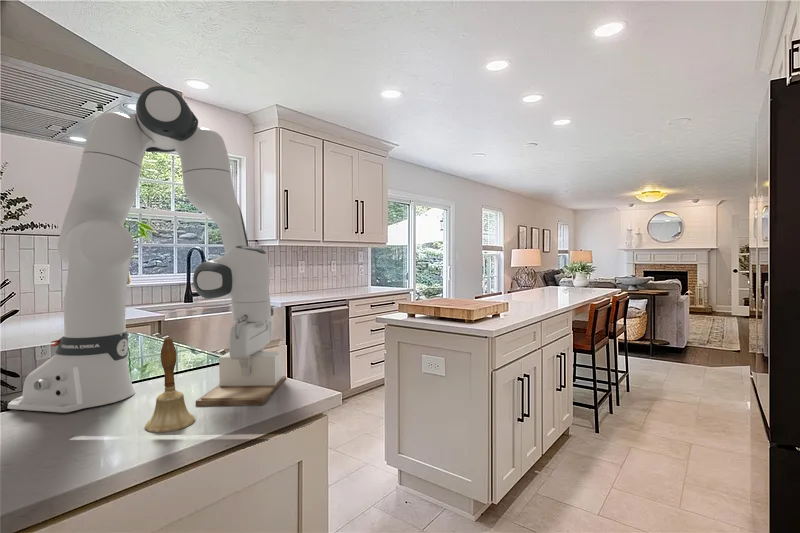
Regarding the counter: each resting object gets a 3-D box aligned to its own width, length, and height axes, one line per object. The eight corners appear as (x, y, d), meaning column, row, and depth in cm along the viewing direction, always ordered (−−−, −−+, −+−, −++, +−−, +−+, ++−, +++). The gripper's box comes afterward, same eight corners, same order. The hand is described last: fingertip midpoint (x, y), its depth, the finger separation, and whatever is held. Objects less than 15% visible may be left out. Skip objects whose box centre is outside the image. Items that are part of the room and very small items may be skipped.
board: (195, 405, 90) (195, 399, 90) (230, 380, 109) (230, 375, 109) (262, 405, 90) (262, 398, 90) (286, 380, 109) (286, 374, 109)
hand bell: (174, 434, 75) (173, 343, 75) (133, 430, 77) (132, 341, 77) (204, 417, 83) (203, 335, 83) (167, 414, 85) (166, 333, 85)
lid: (219, 385, 101) (219, 354, 101) (229, 378, 107) (229, 349, 107) (275, 385, 101) (274, 353, 101) (281, 378, 107) (281, 348, 107)
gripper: (250, 318, 94) (251, 381, 94) (275, 308, 114) (276, 360, 115) (221, 318, 94) (222, 382, 94) (251, 308, 114) (252, 360, 115)
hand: (252, 369), depth 105 cm, fingers open, 7 cm apart
